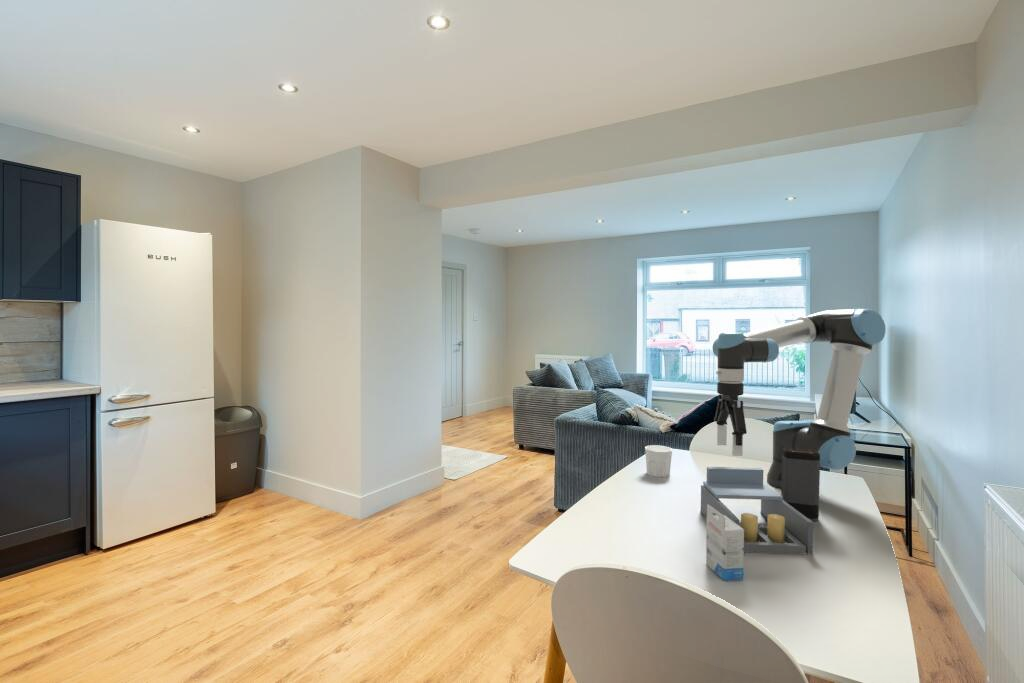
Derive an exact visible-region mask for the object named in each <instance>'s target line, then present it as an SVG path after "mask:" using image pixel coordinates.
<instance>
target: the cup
mask: <svg viewBox="0 0 1024 683" xmlns="http://www.w3.org/2000/svg"><path fill="white" fill-rule="evenodd" d="M644 449H645V450H644V452H645V463H646V466H645V467H646V473H647V474H648V475H649V476H653V477H655V478H659V477H660V478H666V477H668V476H670V475H671V466H672V465H671V463H672V456H673V448H671V447H669V446H665V445H660V444H658V445H657V444H656V445H655V444H652V445H651V444H650V445H646V446H645V447H644Z"/></svg>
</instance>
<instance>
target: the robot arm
mask: <svg viewBox="0 0 1024 683" xmlns="http://www.w3.org/2000/svg"><path fill="white" fill-rule="evenodd" d="M885 335H886V324H885V320H884V319H883V317H882V315H881V314H880V313H879V312H878V311H876V310H874V309H871V308H862V307H858V308H848V309H847V308H845V309H843V308H841V309H839V308H838V309H827V310H822V311H818V312H815V313H811V314H808V315H805V316H801V317H798V318H796V319H795V320H794V321H791V322H789V323H784V324H779V325H776V326H771V327H767V328H764V329H763V328H762V329H758V330H755V331H750V332H747V333H743V332H721V333H719V334H718V337H717V338H716V339H715V340H714V341H713V344H712V352H713V354H714V356H716V357H717V371H715V373H716V375H717V380H718V382H717V386H716V389H717V390H716V392H717V394H718V395H717V404H716V405H717V406H716V410H715V416H714V422H716V425H717V426H716V427H717V428H716V429H717V431H716V432H717V433H716V440H717V441H716V446H727V434H728V433H727V432H728V431H727V429H728V428H727V425H728V421H727V420H728V418H729V417H730V421H731V426H732V429H733V431H732V433H731V435H732V444H731V445H732V451H731V452H732V457H733V456H734V457H743V447H744V443H743V441H744V435H747V425H746V420H745V412H744V401H743V400H739V398H738V397H739V396H743V395H744V383H743V382H744V380H745V363H763V364H766V363H772V362H774V361H776V360H777V358H778V357H779V354H780V348H783V347H786V346H790V345H795V344H799V343H801V344H802V343H803V344H809V343H815V342H817V343H818V342H819V343H823V342H824V343H829V346H830V347H831V348H832V349H833V352H832V357H831V361H830V364H829V368H828V373H827V377H826V380H825V383H824V384H825V385H824V388H823V392H822V396H821V401H820V404H819V408H818V411H817V416H816V418H815V419H813V420H811V421H808V420H807V421H805V420H778V421H776V422H774V424H773V430H772V463H771V465H770V467H769V469H768V472H767V474H766V482H767V483H768V484H770V485H771V486H773V487H776V488H778V489H782V453H783V449H784V448H791V449H792V450H799V451H807V449H810V450H815V451H817V452H818V453H819V454H820V468H824V469H830V470H833V471H834V470H835V471H838V470H842V469H844V468H845V467H848V466H849V465H850V464H851V463H852V462H853V461H854V459H855V457H856V453H857V445H856V442H855V441H854V440H853V438H852V437H851V434H852V431H851V430H850V429H849V427H848V423H849V418H850V415H851V411H852V406H853V403H854V398H855V395H856V390H857V387H858V383H859V378H860V374H861V371H862V366H863V361H864V358H865V356H866V355H868V354H870V353H871V352H872V350H873V346H875V345H878V344H879V343H881V342H882V341H883V340H884V339H885Z"/></svg>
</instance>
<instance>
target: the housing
mask: <svg viewBox="0 0 1024 683" xmlns="http://www.w3.org/2000/svg"><path fill="white" fill-rule="evenodd" d="M708 504H709V505H710V506H711V507H713V508H714V509H716V510H717V511H718V512H719V513H721V514H722V515H725V516H726V517H728V518H729V519H730V520H732V521H733V522H734V523H736V524H737V525H739V526H740V527H741V524H740V519H739V517H737V516H736V515H735V514H734V513H733V512H732V511H731V510H730V509H729V508H728V507H727V506H726V504H725V503H723V501H722V500H720V498H716V497H715V496H714V495H713V494H712V493H711V492H710V491H709V490H708V489H707V488H706V487H705V486H704V485H703V484H701V485H700V513H702V515H703V516H704V517H705V518H706V519H707V505H708ZM760 514H761V515H762V516H763V517H765V518H766V519H767V520H768V515H769V514H776V515H780V516H783V517H784V518H785V533H784V543H773V542H772V541H771V540H770V539H769V538H768V537H767V525H758V533H757V542H745V541H744V553H758V554H759V553H760V554H761V553H762V554H786V555H787V554H788V555H789V554H790V555H791V554H792V555H794V554H795V555H813V548H814V545H813V541H814V521H811V520H810V519H808V518H807V517H805V516H804V515H803V514H801V513H800V512H799V511H797V510H796V509H795V508H793V507H792V506H791V505H789V504H788V503H787V502H785V501H784V500H760ZM713 516H716V513H715V514H714V513H713Z"/></svg>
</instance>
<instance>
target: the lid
mask: <svg viewBox="0 0 1024 683" xmlns="http://www.w3.org/2000/svg"><path fill="white" fill-rule="evenodd" d="M702 485H704V486H705V487H706V488H707V489H708V490H709V491H710V492H711V493H712V494H713V495H714V496H715V497H716V498H718V499H722V500H723V499H726V500H727V499H729V500H730V499H731V500H732V499H733V500H760V501H761V500H783V496H781V495H782V494H780V493H778V492H777V491H776V490H774V489H773V488H772V487H770V486H769V485H768V484H766V483H765V482H764V469H763V468H762V467H733V466H732V467H731V466H729V467H728V466H726V467H725V466H706V481H705V480H703V481H702Z"/></svg>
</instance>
